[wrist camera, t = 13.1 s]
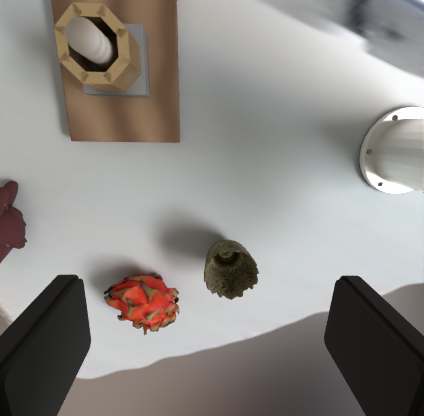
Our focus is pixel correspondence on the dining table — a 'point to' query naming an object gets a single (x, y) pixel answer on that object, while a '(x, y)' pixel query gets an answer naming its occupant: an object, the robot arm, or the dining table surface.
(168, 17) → the shaft stand
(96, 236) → the dining table surface
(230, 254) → the cup
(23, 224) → the icecream
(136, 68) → the hub
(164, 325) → the dragon fruit
